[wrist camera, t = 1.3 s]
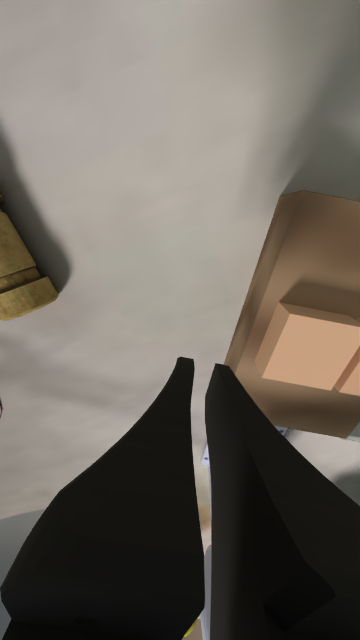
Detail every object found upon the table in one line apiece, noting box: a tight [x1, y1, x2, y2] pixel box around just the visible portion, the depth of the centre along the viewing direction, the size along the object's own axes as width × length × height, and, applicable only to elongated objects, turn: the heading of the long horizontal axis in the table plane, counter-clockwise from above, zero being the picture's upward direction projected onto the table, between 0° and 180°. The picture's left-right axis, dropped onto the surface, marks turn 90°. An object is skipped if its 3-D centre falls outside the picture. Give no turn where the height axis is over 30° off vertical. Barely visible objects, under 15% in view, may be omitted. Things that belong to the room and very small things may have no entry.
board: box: [224, 190, 360, 439], centre depth 18 cm, size 18×12×4 cm, turn 170°
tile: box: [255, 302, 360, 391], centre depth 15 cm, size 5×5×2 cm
